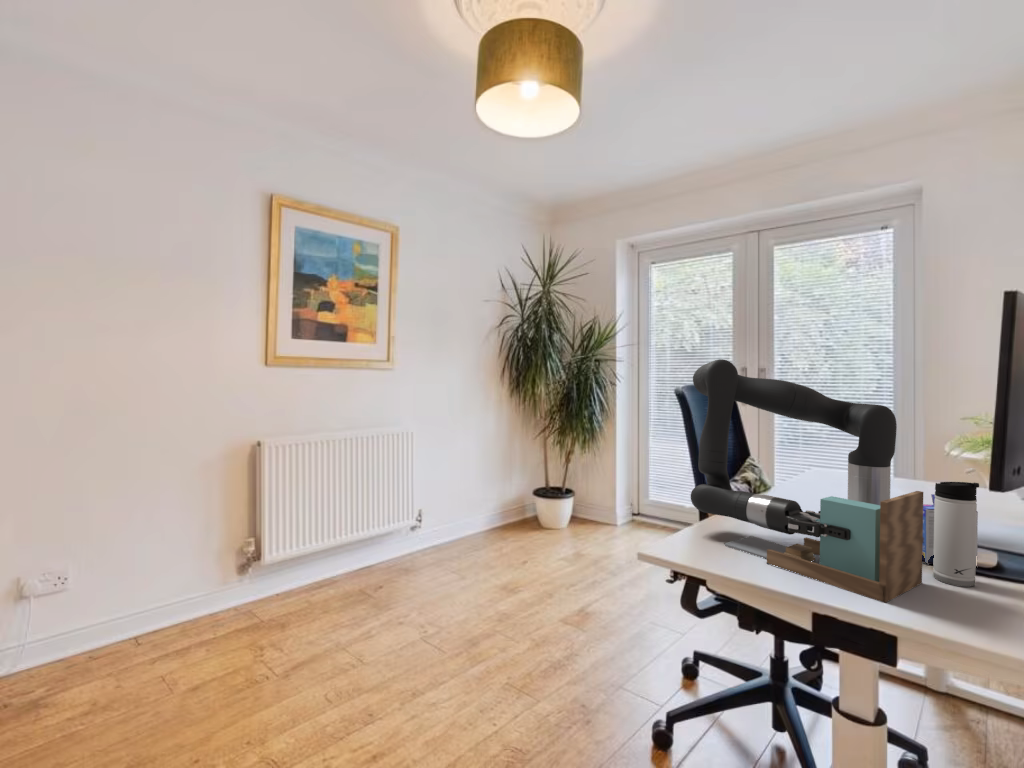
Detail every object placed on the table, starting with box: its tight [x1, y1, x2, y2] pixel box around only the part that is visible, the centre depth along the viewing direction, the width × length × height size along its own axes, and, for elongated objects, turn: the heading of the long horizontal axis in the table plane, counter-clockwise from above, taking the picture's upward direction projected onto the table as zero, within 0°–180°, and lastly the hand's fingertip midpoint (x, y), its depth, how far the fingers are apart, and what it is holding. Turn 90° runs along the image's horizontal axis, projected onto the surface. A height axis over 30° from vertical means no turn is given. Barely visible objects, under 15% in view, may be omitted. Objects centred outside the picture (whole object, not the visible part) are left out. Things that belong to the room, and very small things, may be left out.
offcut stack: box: [784, 543, 816, 562], centre depth 110 cm, size 6×4×3 cm, turn 123°
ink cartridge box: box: [922, 493, 979, 563], centre depth 109 cm, size 10×6×14 cm, turn 78°
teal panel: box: [819, 495, 880, 582], centre depth 101 cm, size 5×10×15 cm, turn 32°
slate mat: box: [724, 535, 789, 560], centre depth 117 cm, size 11×12×1 cm
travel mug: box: [932, 481, 980, 588], centre depth 99 cm, size 6×7×20 cm
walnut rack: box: [766, 490, 924, 603], centre depth 103 cm, size 16×22×18 cm
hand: (855, 532), depth 101 cm, fingers closed on teal panel, 4 cm apart
